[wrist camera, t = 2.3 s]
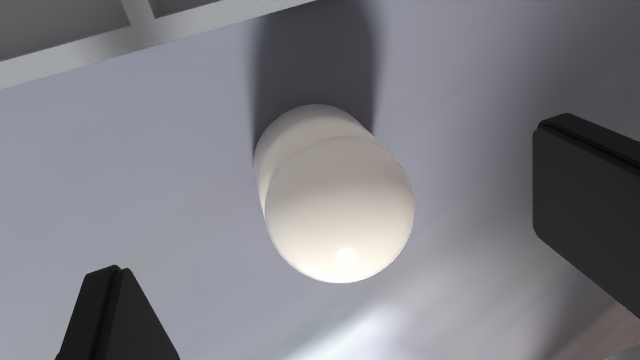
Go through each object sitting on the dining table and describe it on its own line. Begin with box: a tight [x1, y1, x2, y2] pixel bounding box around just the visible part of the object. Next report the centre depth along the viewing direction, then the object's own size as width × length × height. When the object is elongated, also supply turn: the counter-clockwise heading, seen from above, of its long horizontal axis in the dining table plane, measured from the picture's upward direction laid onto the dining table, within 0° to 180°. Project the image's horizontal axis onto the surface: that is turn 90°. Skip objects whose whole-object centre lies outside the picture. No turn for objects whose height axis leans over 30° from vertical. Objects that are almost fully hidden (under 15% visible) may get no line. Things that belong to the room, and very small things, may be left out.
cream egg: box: [253, 104, 415, 283], centre depth 14 cm, size 4×4×6 cm
